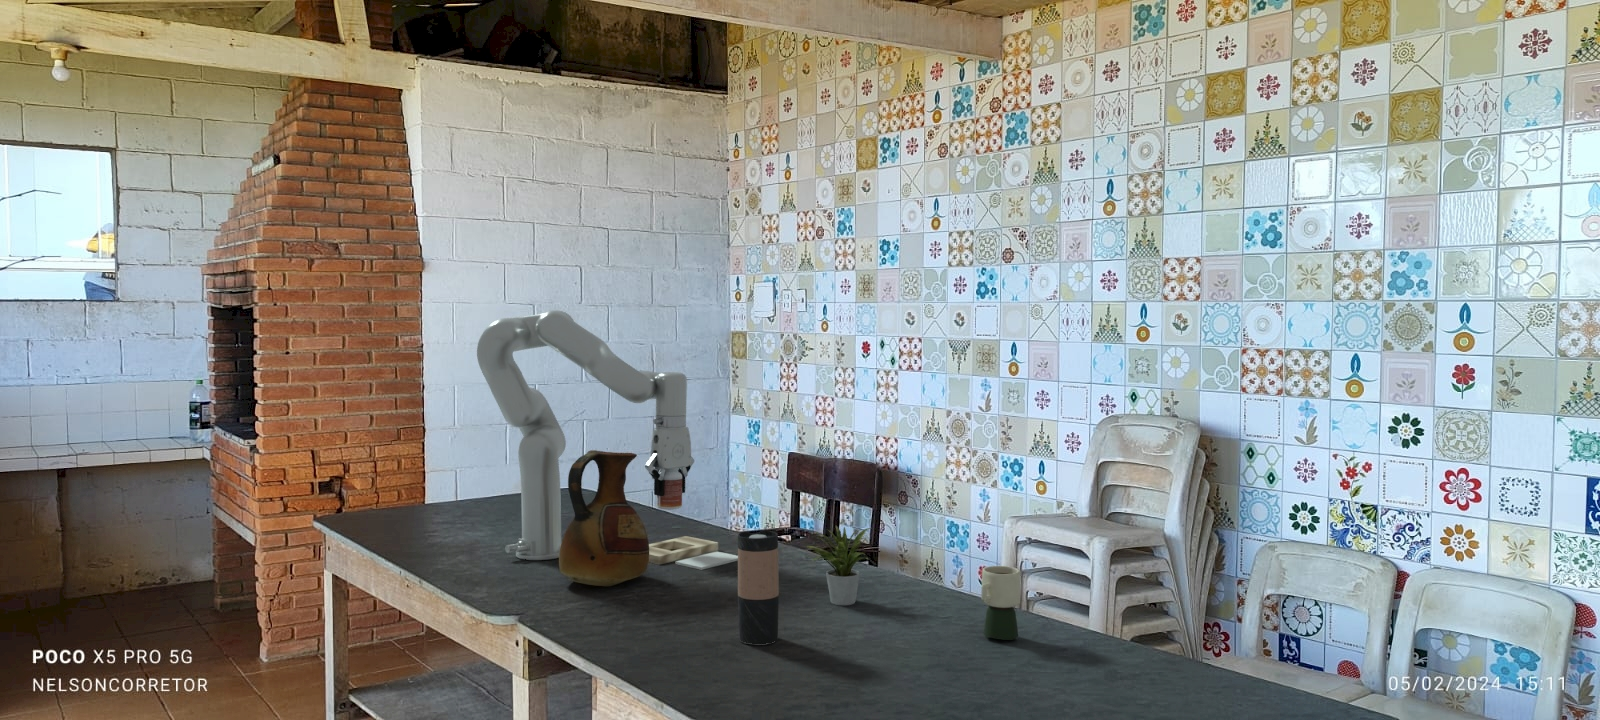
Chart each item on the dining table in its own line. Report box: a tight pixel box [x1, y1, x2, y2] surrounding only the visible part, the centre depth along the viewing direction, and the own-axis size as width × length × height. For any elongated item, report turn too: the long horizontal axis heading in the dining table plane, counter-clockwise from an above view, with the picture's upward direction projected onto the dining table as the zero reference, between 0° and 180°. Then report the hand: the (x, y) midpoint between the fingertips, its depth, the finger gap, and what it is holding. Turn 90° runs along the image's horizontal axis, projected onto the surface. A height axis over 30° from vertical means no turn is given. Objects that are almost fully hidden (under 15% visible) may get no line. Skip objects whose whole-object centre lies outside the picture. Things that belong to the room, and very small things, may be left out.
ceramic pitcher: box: [558, 449, 650, 587], centre depth 254 cm, size 20×20×30 cm
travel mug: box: [737, 530, 780, 644], centre depth 211 cm, size 8×8×20 cm
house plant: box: [806, 525, 872, 606], centre depth 238 cm, size 14×14×16 cm
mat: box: [674, 551, 738, 571], centre depth 274 cm, size 14×9×1 cm, turn 139°
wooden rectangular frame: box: [648, 535, 719, 566], centre depth 282 cm, size 20×12×2 cm, turn 139°
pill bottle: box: [656, 468, 683, 511], centre depth 281 cm, size 6×6×11 cm
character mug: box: [980, 565, 1022, 641], centre depth 211 cm, size 11×7×13 cm, turn 131°
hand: (669, 493), depth 282 cm, fingers closed on pill bottle, 6 cm apart
